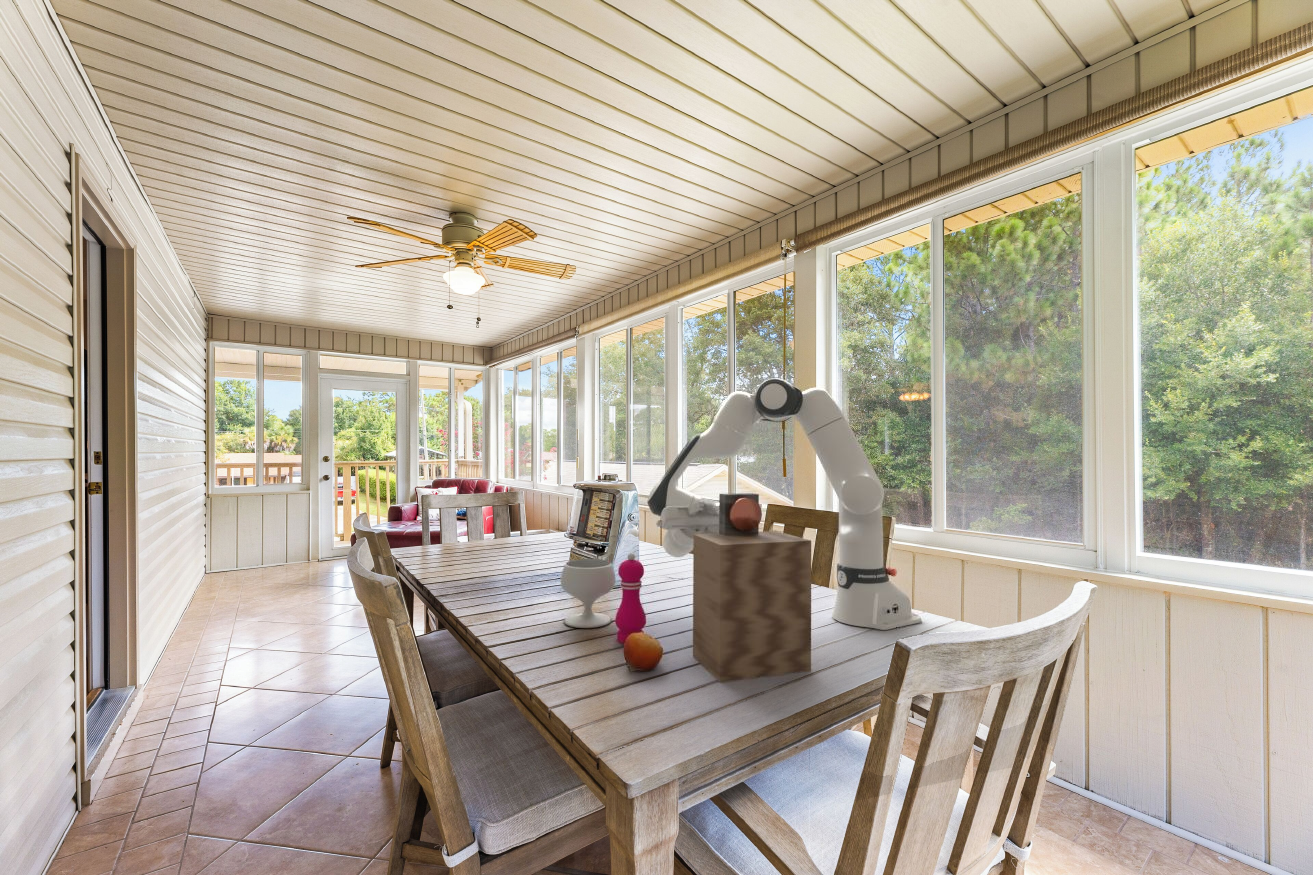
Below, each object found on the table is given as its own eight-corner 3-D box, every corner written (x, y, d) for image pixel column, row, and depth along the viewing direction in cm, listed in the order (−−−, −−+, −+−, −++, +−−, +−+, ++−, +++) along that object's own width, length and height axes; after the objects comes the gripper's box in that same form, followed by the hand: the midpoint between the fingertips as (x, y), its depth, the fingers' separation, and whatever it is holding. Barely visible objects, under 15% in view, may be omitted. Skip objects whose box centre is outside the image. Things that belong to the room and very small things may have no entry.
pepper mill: (647, 634, 133) (648, 550, 133) (644, 645, 126) (644, 556, 126) (617, 633, 133) (618, 549, 134) (612, 644, 126) (613, 555, 127)
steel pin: (714, 517, 142) (714, 489, 143) (761, 530, 119) (761, 497, 119) (689, 518, 140) (689, 490, 141) (731, 532, 117) (732, 498, 117)
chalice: (569, 612, 151) (570, 556, 151) (620, 615, 149) (620, 558, 149) (552, 629, 137) (553, 567, 137) (608, 632, 135) (609, 569, 135)
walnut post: (775, 646, 125) (776, 492, 126) (811, 670, 112) (811, 497, 113) (692, 656, 119) (693, 494, 120) (719, 682, 106) (720, 499, 107)
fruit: (608, 657, 114) (628, 621, 116) (639, 673, 117) (657, 637, 118) (622, 672, 107) (642, 633, 109) (654, 688, 109) (673, 650, 111)
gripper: (652, 515, 147) (667, 492, 135) (723, 513, 153) (743, 491, 142) (656, 538, 143) (671, 516, 132) (728, 535, 150) (749, 514, 138)
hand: (709, 503), depth 137 cm, fingers closed on steel pin, 3 cm apart
